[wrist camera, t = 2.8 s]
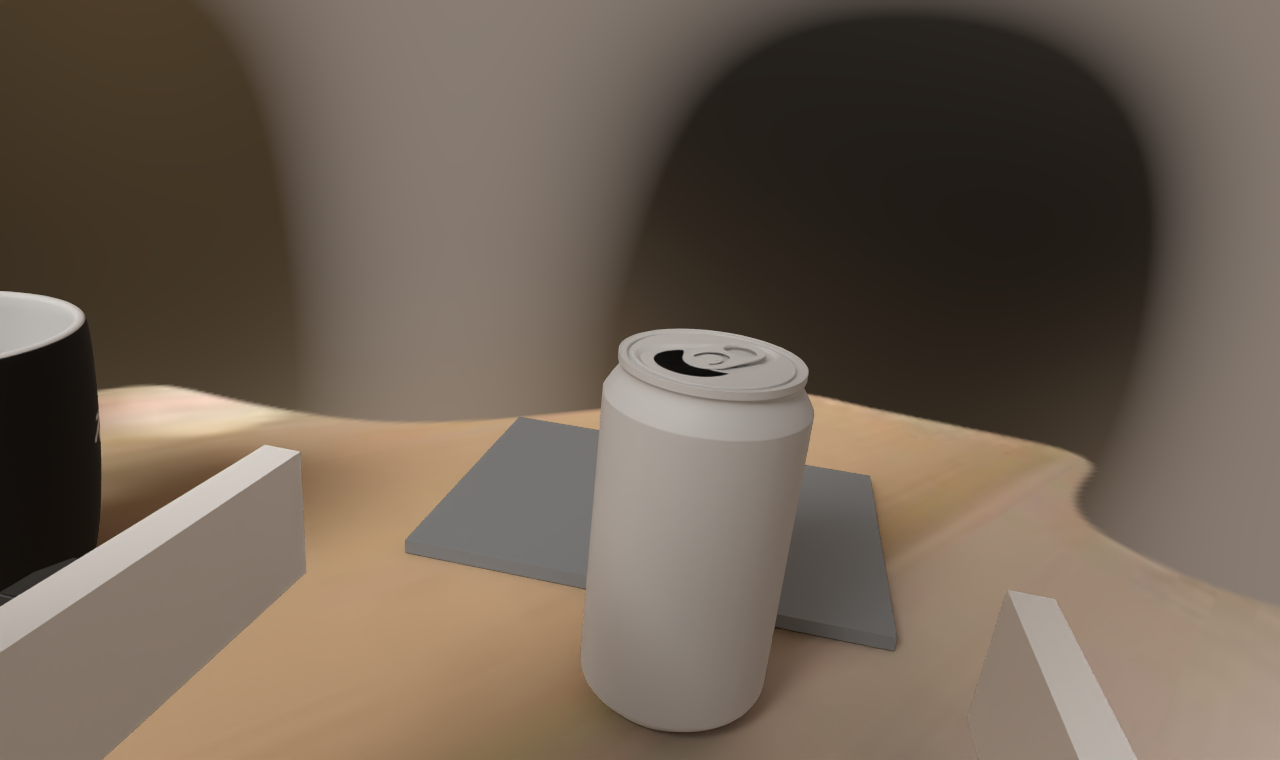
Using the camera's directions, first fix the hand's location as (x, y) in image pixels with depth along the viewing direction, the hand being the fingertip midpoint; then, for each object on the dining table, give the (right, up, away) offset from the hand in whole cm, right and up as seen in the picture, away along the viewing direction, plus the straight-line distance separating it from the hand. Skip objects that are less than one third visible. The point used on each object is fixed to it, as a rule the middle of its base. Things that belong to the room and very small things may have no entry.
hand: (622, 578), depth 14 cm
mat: (+2, -3, +23) cm, 24 cm away
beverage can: (+1, -7, +13) cm, 15 cm away
